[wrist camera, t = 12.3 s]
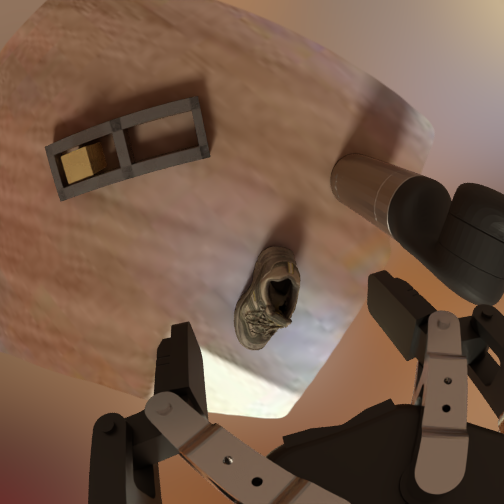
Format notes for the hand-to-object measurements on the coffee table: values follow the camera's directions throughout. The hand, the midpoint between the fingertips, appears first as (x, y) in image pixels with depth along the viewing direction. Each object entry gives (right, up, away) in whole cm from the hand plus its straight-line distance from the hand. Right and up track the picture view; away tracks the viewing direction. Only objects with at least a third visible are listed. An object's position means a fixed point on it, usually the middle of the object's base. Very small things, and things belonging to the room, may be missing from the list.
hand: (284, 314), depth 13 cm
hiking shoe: (0, -5, +44) cm, 44 cm away
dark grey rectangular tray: (-20, +18, +28) cm, 39 cm away
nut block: (-26, +17, +28) cm, 41 cm away
